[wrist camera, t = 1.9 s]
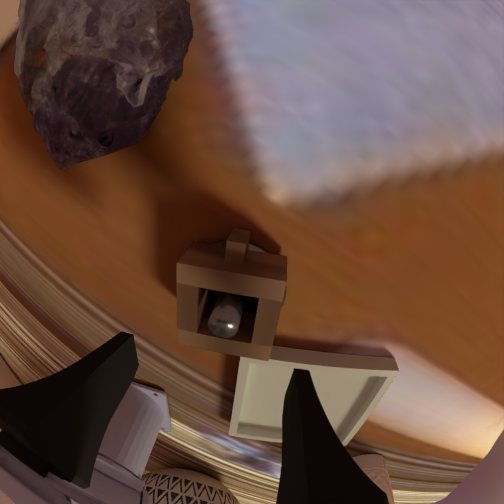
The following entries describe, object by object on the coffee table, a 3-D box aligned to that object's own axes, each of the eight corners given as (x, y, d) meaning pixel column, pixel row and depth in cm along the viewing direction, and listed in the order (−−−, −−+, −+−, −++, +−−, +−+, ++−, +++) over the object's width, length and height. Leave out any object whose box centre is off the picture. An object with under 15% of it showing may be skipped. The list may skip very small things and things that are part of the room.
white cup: (388, 445, 25) (398, 514, 16) (388, 465, 28) (395, 523, 19) (325, 459, 27) (325, 528, 18) (335, 477, 30) (335, 535, 21)
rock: (106, 154, 17) (244, 102, 15) (20, 208, 10) (207, 118, 8) (64, 21, 11) (191, -50, 9) (-27, 20, 4) (131, -112, 2)
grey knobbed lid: (187, 315, 20) (168, 354, 16) (189, 231, 17) (163, 261, 13) (277, 332, 20) (273, 376, 16) (295, 248, 17) (296, 284, 13)
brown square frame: (191, 315, 19) (178, 343, 17) (194, 222, 17) (176, 240, 14) (271, 330, 19) (268, 361, 16) (290, 237, 16) (291, 259, 14)
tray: (231, 423, 25) (228, 435, 24) (243, 340, 20) (240, 354, 19) (344, 434, 24) (345, 445, 23) (394, 357, 20) (399, 370, 18)
